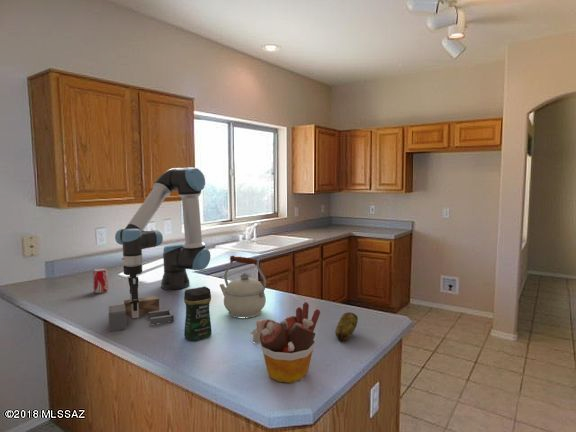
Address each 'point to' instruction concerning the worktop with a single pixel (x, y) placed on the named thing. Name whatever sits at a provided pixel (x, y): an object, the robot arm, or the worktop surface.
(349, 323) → the potato
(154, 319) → the open end cap
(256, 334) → the architectural model
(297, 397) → the worktop surface
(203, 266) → the robot arm
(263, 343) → the bucket of meat
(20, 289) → the worktop surface
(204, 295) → the coffee jar
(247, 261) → the kettle
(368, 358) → the worktop surface
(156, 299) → the walnut rail
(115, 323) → the roofed end cap
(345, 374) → the worktop surface
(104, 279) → the soda can
